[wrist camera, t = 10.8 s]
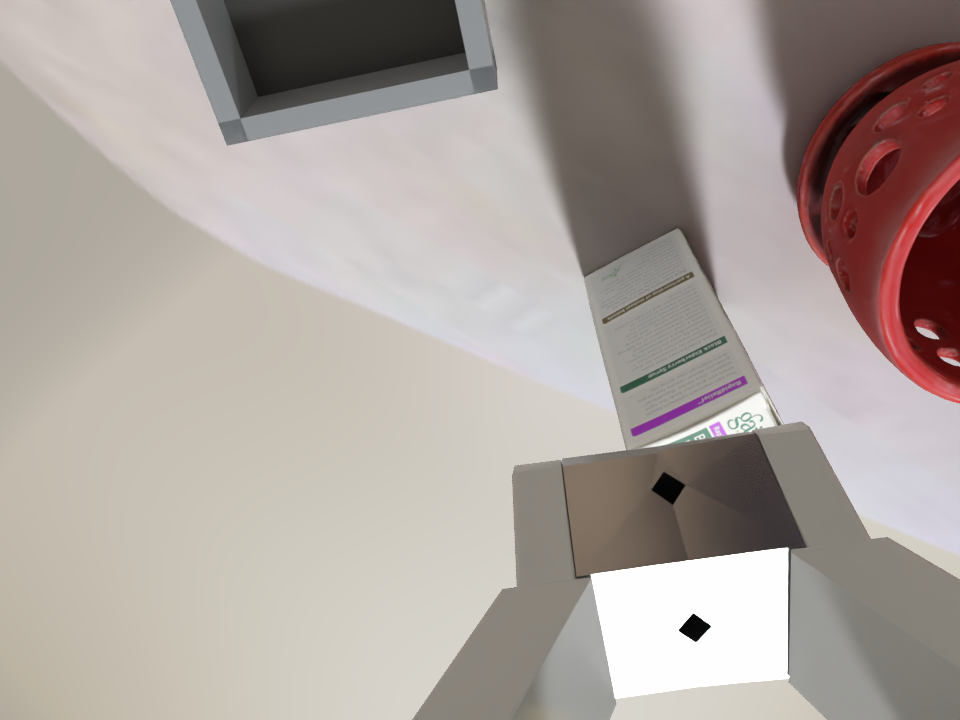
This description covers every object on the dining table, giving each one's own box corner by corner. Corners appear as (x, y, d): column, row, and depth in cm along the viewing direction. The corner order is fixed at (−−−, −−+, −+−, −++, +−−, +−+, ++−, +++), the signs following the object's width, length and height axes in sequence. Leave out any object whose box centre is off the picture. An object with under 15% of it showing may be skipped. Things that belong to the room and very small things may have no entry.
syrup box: (579, 276, 42) (616, 457, 30) (682, 221, 40) (765, 390, 28) (626, 352, 45) (679, 546, 33) (725, 304, 43) (818, 491, 31)
